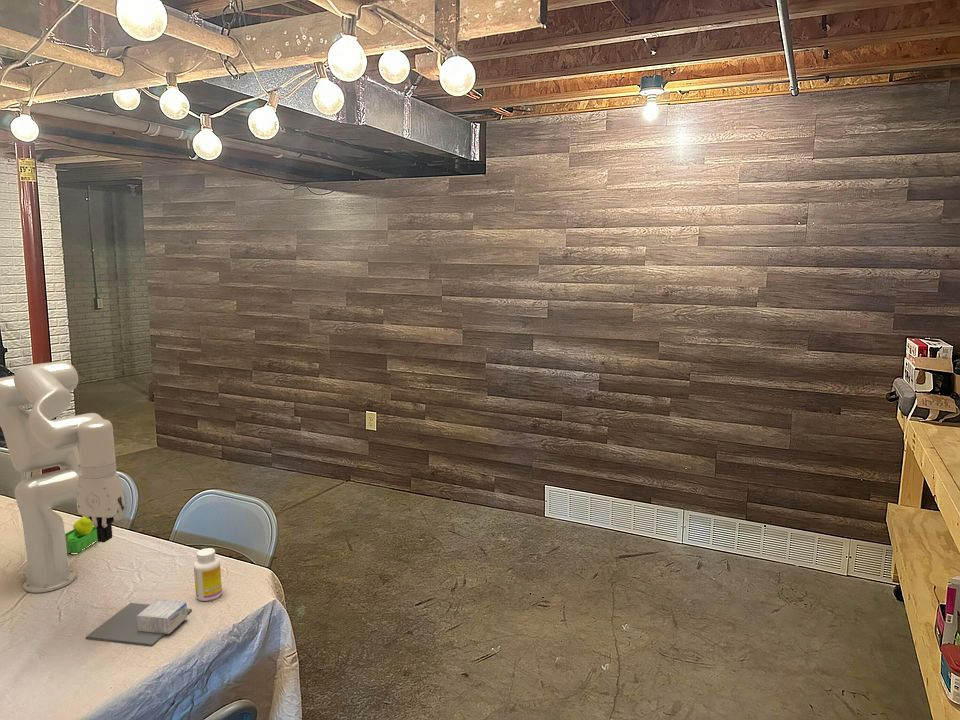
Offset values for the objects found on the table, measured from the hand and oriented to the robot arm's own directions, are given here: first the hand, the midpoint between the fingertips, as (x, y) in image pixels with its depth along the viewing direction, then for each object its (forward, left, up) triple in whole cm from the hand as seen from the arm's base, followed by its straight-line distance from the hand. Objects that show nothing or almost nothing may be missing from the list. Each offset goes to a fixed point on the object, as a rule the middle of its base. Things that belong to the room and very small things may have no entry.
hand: (105, 539), depth 167 cm
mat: (+8, 0, -22) cm, 23 cm away
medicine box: (+10, 0, -19) cm, 22 cm away
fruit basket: (-40, +36, -22) cm, 58 cm away
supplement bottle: (+17, +16, -22) cm, 32 cm away
